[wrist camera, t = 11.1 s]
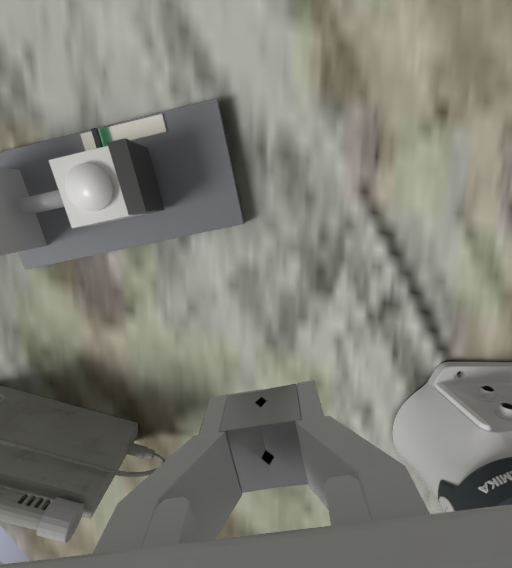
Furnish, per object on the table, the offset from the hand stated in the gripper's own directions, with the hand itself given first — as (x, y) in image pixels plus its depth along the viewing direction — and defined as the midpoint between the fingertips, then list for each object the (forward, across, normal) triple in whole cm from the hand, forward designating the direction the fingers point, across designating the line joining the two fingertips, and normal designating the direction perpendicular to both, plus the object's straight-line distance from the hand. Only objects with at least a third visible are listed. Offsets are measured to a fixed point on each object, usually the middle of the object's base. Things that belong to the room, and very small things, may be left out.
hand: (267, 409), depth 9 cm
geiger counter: (+27, -28, -16) cm, 42 cm away
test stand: (+27, -14, +10) cm, 32 cm away
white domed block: (+25, -16, +11) cm, 32 cm away
